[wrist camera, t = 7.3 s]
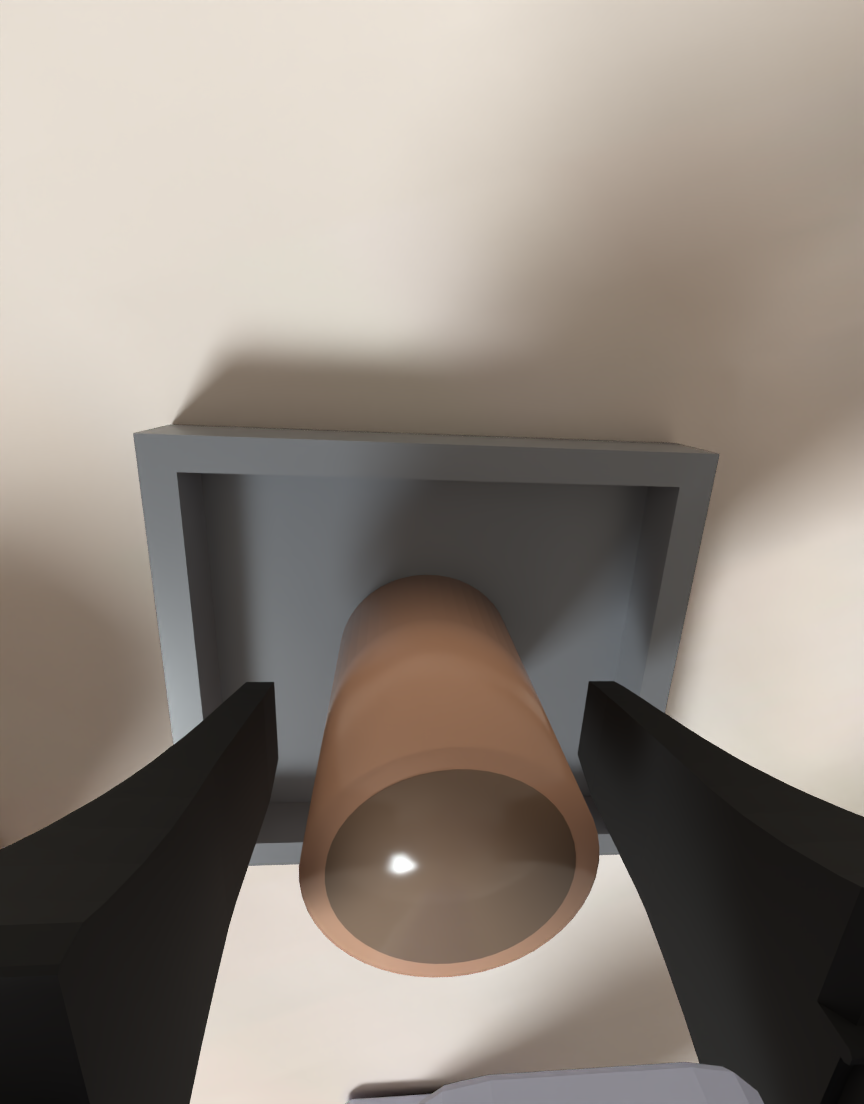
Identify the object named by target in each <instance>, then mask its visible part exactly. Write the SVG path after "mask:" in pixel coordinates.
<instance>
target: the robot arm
mask: <svg viewBox="0 0 864 1104" xmlns="http://www.w3.org/2000/svg"><path fill="white" fill-rule="evenodd" d="M578 758H579V761H580V764H581V767H582V770H583V773H584V777H585V779H586V782H587V785H588V788H589V791H590V794H591V796H592V798H593V800H594V803H595V805H596V807H597V809H598V811H599V813H600V815H601V817H602V819H603V822H604V824H605V826H606V828H607V830H608V832H609V834H610V836H611V838H612V840H613V842H614V844H615V846H616V848H617V850H618V852H619V854H620V856H621V858H622V860H623V862H624V864H625V867H626V869H627V871H628V873H629V875H630V877H631V879H632V881H633V883H634V885H635V887H636V889H637V891H638V894H639V896H640V898H641V900H642V903H643V905H644V907H645V910H646V912H647V915H648V917H649V920H650V923H651V925H652V928H653V931H654V933H655V936H656V939H657V941H658V944H659V947H660V949H661V952H662V955H663V957H664V960H665V963H666V966H667V968H668V971H669V974H670V977H671V980H672V983H673V986H674V988H675V991H676V994H677V997H678V1000H679V1003H680V1005H681V1008H682V1011H683V1014H684V1017H685V1020H686V1023H687V1026H688V1029H689V1032H690V1035H691V1039H692V1042H693V1045H694V1048H695V1051H696V1054H697V1057H698V1060H699V1063H700V1064H697V1063H689V1062H678V1063H663V1064H647V1065H632V1066H617V1067H601V1068H586V1069H571V1070H555V1071H540V1072H524V1073H509V1074H494V1075H485V1076H481V1077H477V1078H472V1079H468V1080H464V1081H460V1082H455V1083H451V1084H447V1085H444V1086H443V1087H441V1088H440V1089H438V1090H437V1091H435V1092H434V1093H432V1094H422V1095H407V1096H392V1097H378V1098H363V1099H353V1100H349V1101H347V1102H346V1103H345V1104H864V817H863V816H860V815H857V814H855V813H852V812H850V811H847V810H845V809H842V808H840V807H838V806H835V805H833V804H831V803H828V802H826V801H824V800H821V799H819V798H817V797H814V796H812V795H810V794H807V793H805V792H803V791H801V790H799V789H797V788H794V787H792V786H790V785H788V784H786V783H784V782H782V781H780V780H778V779H776V778H774V777H772V776H770V775H768V774H766V773H764V772H762V771H760V770H758V769H756V768H754V767H752V766H750V765H749V764H747V763H745V762H743V761H741V760H739V759H738V758H736V757H734V756H732V755H731V754H729V753H727V752H726V751H724V750H722V749H720V748H719V747H717V746H715V745H714V744H712V743H710V742H709V741H707V740H705V739H704V738H702V737H701V736H699V735H697V734H696V733H694V732H693V731H691V730H689V729H688V728H686V727H685V726H683V725H682V724H680V723H679V722H677V721H676V720H674V719H672V718H671V717H669V716H668V715H666V714H665V713H663V712H662V711H660V710H659V709H657V708H656V707H654V706H653V705H651V704H650V703H649V702H647V701H646V700H644V699H643V698H641V697H639V696H638V695H636V694H635V693H633V692H632V691H630V690H629V689H627V688H625V687H624V686H622V685H620V684H619V683H617V682H615V681H589V683H588V690H587V696H586V702H585V709H584V715H583V722H582V728H581V735H580V741H579V747H578ZM278 759H279V758H278V740H277V722H276V704H275V686H274V682H246V683H245V684H243V685H242V686H241V687H240V688H239V689H238V690H237V691H235V692H234V693H233V694H232V695H231V696H230V697H229V698H228V699H226V700H225V701H224V702H223V703H222V704H221V705H220V706H219V707H218V708H216V709H215V710H214V711H213V712H212V713H211V714H210V715H209V716H208V717H206V718H205V719H204V720H203V721H202V722H201V723H199V724H198V725H197V726H196V727H195V728H194V729H193V730H191V731H190V732H189V733H188V734H187V735H185V736H184V737H183V738H182V739H180V740H179V741H178V742H176V743H175V744H174V745H173V746H171V747H170V748H169V749H168V750H166V751H165V752H164V753H162V754H161V755H160V756H159V757H157V758H156V759H155V760H153V761H152V762H151V763H149V764H148V765H147V766H145V767H144V768H142V769H141V770H140V771H138V772H137V773H135V774H134V775H132V776H131V777H129V778H128V779H126V780H125V781H123V782H122V783H120V784H119V785H117V786H116V787H114V788H113V789H111V790H110V791H108V792H106V793H105V794H103V795H102V796H100V797H98V798H97V799H95V800H93V801H91V802H90V803H88V804H86V805H84V806H83V807H81V808H79V809H77V810H76V811H74V812H72V813H70V814H68V815H67V816H65V817H63V818H61V819H60V820H58V821H56V822H54V823H53V824H51V825H49V826H47V827H45V828H43V829H41V830H40V831H38V832H36V833H34V834H32V835H30V836H28V837H26V838H24V839H22V840H20V841H18V842H16V843H14V844H12V845H9V846H7V847H5V848H3V849H1V850H0V1104H189V1103H190V1099H191V1094H192V1089H193V1084H194V1079H195V1075H196V1070H197V1065H198V1060H199V1055H200V1051H201V1046H202V1041H203V1037H204V1032H205V1028H206V1023H207V1019H208V1014H209V1010H210V1005H211V1001H212V997H213V992H214V988H215V983H216V979H217V975H218V970H219V966H220V962H221V958H222V953H223V949H224V945H225V941H226V937H227V932H228V928H229V924H230V921H231V918H232V914H233V911H234V907H235V904H236V901H237V898H238V895H239V892H240V889H241V886H242V883H243V880H244V877H245V874H246V871H247V868H248V865H249V862H250V859H251V856H252V853H253V851H254V848H255V845H256V842H257V839H258V836H259V833H260V830H261V827H262V824H263V821H264V818H265V815H266V812H267V808H268V805H269V802H270V798H271V793H272V789H273V784H274V779H275V774H276V769H277V764H278Z"/></svg>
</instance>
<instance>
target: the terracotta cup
mask: <svg viewBox="0 0 864 1104" xmlns="http://www.w3.org/2000/svg"><path fill="white" fill-rule="evenodd" d="M598 864H599V840H598V833H597V829H596V826H595V823H594V820H593V817H592V815H591V813H590V811H589V808H588V806H587V804H586V802H585V799H584V797H583V795H582V793H581V791H580V788H579V786H578V784H577V782H576V780H575V777H574V775H573V773H572V771H571V769H570V766H569V764H568V762H567V760H566V758H565V755H564V753H563V751H562V749H561V746H560V744H559V742H558V740H557V738H556V735H555V733H554V731H553V729H552V727H551V724H550V722H549V720H548V718H547V716H546V713H545V711H544V709H543V707H542V705H541V702H540V700H539V698H538V696H537V693H536V691H535V689H534V687H533V685H532V682H531V680H530V678H529V676H528V674H527V671H526V669H525V667H524V665H523V663H522V660H521V658H520V656H519V654H518V652H517V649H516V647H515V645H514V643H513V640H512V638H511V636H510V634H509V632H508V629H507V627H506V625H505V623H504V621H503V619H502V617H501V615H500V613H499V611H498V610H497V609H496V607H495V606H494V604H493V603H492V602H491V601H490V600H489V599H488V598H487V597H486V596H485V595H484V594H482V593H481V592H480V591H479V590H477V589H475V588H474V587H472V586H470V585H469V584H466V583H464V582H462V581H460V580H457V579H453V578H450V577H445V576H439V575H417V576H410V577H405V578H401V579H398V580H395V581H392V582H390V583H388V584H386V585H384V586H382V587H380V588H378V589H377V590H375V591H374V592H372V593H371V594H370V595H369V596H367V597H366V598H365V599H364V600H363V601H362V602H361V603H360V604H359V605H358V606H357V608H356V609H355V610H354V612H353V613H352V615H351V616H350V618H349V620H348V622H347V624H346V626H345V628H344V631H343V634H342V638H341V643H340V648H339V654H338V659H337V664H336V670H335V675H334V680H333V686H332V691H331V696H330V702H329V707H328V712H327V718H326V723H325V729H324V734H323V739H322V745H321V750H320V755H319V761H318V766H317V771H316V777H315V782H314V787H313V793H312V798H311V803H310V809H309V814H308V819H307V825H306V830H305V835H304V841H303V846H302V851H301V857H300V864H299V883H300V888H301V893H302V897H303V900H304V903H305V905H306V908H307V911H308V912H309V914H310V916H311V917H312V919H313V921H314V923H315V924H316V925H317V927H318V928H319V929H320V930H321V931H322V933H323V934H324V935H325V936H326V937H327V938H328V939H329V940H330V941H331V942H333V943H334V944H335V945H336V946H337V947H338V948H340V949H341V950H343V951H344V952H346V953H347V954H349V955H350V956H352V957H354V958H356V959H358V960H360V961H362V962H364V963H366V964H368V965H371V966H374V967H376V968H379V969H382V970H386V971H390V972H393V973H397V974H403V975H410V976H418V977H453V976H461V975H469V974H473V973H478V972H483V971H487V970H490V969H493V968H496V967H499V966H503V965H505V964H508V963H510V962H512V961H515V960H517V959H519V958H521V957H523V956H525V955H527V954H529V953H531V952H533V951H534V950H536V949H537V948H539V947H540V946H542V945H543V944H545V943H546V942H548V941H549V940H550V939H552V938H553V937H554V936H555V935H556V934H558V933H559V932H560V931H561V930H562V929H563V928H564V927H565V926H566V925H567V924H568V923H569V922H570V921H571V920H572V919H573V918H574V916H575V915H576V914H577V912H578V911H579V910H580V908H581V907H582V905H583V904H584V902H585V900H586V898H587V897H588V895H589V893H590V891H591V888H592V886H593V883H594V880H595V878H596V873H597V869H598Z"/></svg>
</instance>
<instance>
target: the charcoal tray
mask: <svg viewBox="0 0 864 1104" xmlns="http://www.w3.org/2000/svg"><path fill="white" fill-rule="evenodd" d="M133 435H134V443H135V451H136V458H137V466H138V474H139V482H140V489H141V497H142V505H143V513H144V520H145V528H146V536H147V544H148V551H149V559H150V567H151V575H152V582H153V590H154V598H155V606H156V613H157V621H158V629H159V637H160V644H161V652H162V660H163V668H164V675H165V683H166V691H167V699H168V706H169V714H170V722H171V730H172V737H173V745H174V744H175V743H176V742H178V741H179V740H180V739H182V738H183V737H184V736H185V735H187V734H188V733H189V732H190V731H191V730H193V729H194V728H195V727H196V726H197V725H198V724H199V723H201V722H202V721H203V720H204V719H205V718H206V717H208V716H209V715H210V714H211V713H212V712H213V711H214V710H215V709H216V708H218V707H219V706H220V705H221V704H222V703H223V702H224V701H225V700H226V699H228V698H229V697H230V696H231V695H232V694H233V693H234V692H235V691H237V690H238V689H239V688H240V687H241V686H242V685H243V684H245V683H246V682H274V686H275V704H276V722H277V740H278V758H279V759H278V764H277V769H276V774H275V779H274V784H273V789H272V793H271V798H270V802H269V805H268V808H267V812H266V815H265V818H264V821H263V824H262V827H261V830H260V833H259V836H258V839H257V842H256V845H255V848H254V851H253V853H252V856H251V859H250V862H249V865H248V866H256V865H289V864H300V857H301V851H302V846H303V841H304V835H305V830H306V825H307V819H308V814H309V809H310V803H311V798H312V793H313V787H314V782H315V777H316V771H317V766H318V761H319V755H320V750H321V745H322V739H323V734H324V729H325V723H326V718H327V712H328V707H329V702H330V696H331V691H332V686H333V680H334V675H335V670H336V664H337V659H338V654H339V648H340V643H341V638H342V634H343V631H344V628H345V626H346V624H347V622H348V620H349V618H350V616H351V615H352V613H353V612H354V610H355V609H356V608H357V606H358V605H359V604H360V603H361V602H362V601H363V600H364V599H365V598H366V597H367V596H369V595H370V594H371V593H372V592H374V591H375V590H377V589H378V588H380V587H382V586H384V585H386V584H388V583H390V582H392V581H395V580H398V579H401V578H405V577H410V576H417V575H439V576H445V577H450V578H453V579H457V580H460V581H462V582H464V583H466V584H469V585H470V586H472V587H474V588H475V589H477V590H479V591H480V592H481V593H482V594H484V595H485V596H486V597H487V598H488V599H489V600H490V601H491V602H492V603H493V604H494V606H495V607H496V609H497V610H498V611H499V613H500V615H501V617H502V619H503V621H504V623H505V625H506V627H507V629H508V632H509V634H510V636H511V638H512V640H513V643H514V645H515V647H516V649H517V652H518V654H519V656H520V658H521V660H522V663H523V665H524V667H525V669H526V671H527V674H528V676H529V678H530V680H531V682H532V685H533V687H534V689H535V691H536V693H537V696H538V698H539V700H540V702H541V705H542V707H543V709H544V711H545V713H546V716H547V718H548V720H549V722H550V724H551V727H552V729H553V731H554V733H555V735H556V738H557V740H558V742H559V744H560V746H561V749H562V751H563V753H564V755H565V758H566V760H567V762H568V764H569V766H570V769H571V771H572V773H573V775H574V777H575V780H576V782H577V784H578V786H579V788H580V791H581V793H582V795H583V797H584V799H585V802H586V804H587V806H588V808H589V811H590V813H591V815H592V817H593V820H594V823H595V826H596V829H597V833H598V840H599V855H617V854H619V852H618V850H617V848H616V846H615V844H614V842H613V840H612V838H611V836H610V834H609V832H608V830H607V828H606V826H605V824H604V822H603V819H602V817H601V815H600V813H599V811H598V809H597V807H596V805H595V803H594V800H593V798H592V796H591V794H590V791H589V788H588V785H587V782H586V779H585V777H584V773H583V770H582V767H581V764H580V761H579V758H578V747H579V741H580V735H581V728H582V722H583V715H584V709H585V702H586V696H587V690H588V683H589V681H615V682H617V683H619V684H620V685H622V686H624V687H625V688H627V689H629V690H630V691H632V692H633V693H635V694H636V695H638V696H639V697H641V698H643V699H644V700H646V701H647V702H649V703H650V704H651V705H653V706H654V707H656V708H657V709H659V710H660V711H662V712H663V713H665V709H666V705H667V700H668V695H669V690H670V686H671V681H672V676H673V671H674V667H675V662H676V657H677V653H678V648H679V643H680V638H681V634H682V629H683V624H684V619H685V615H686V610H687V605H688V600H689V596H690V591H691V586H692V582H693V577H694V572H695V567H696V563H697V558H698V553H699V548H700V544H701V539H702V534H703V530H704V525H705V520H706V515H707V511H708V506H709V501H710V496H711V492H712V487H713V482H714V477H715V473H716V468H717V463H718V459H719V454H717V453H713V452H709V451H705V450H701V449H697V448H693V447H689V446H685V445H681V444H677V443H656V442H629V441H602V440H575V439H547V438H520V437H493V436H466V435H439V434H412V433H385V432H357V431H330V430H303V429H276V428H249V427H222V426H195V425H166V426H162V427H158V428H154V429H149V430H145V431H141V432H137V433H133Z"/></svg>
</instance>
